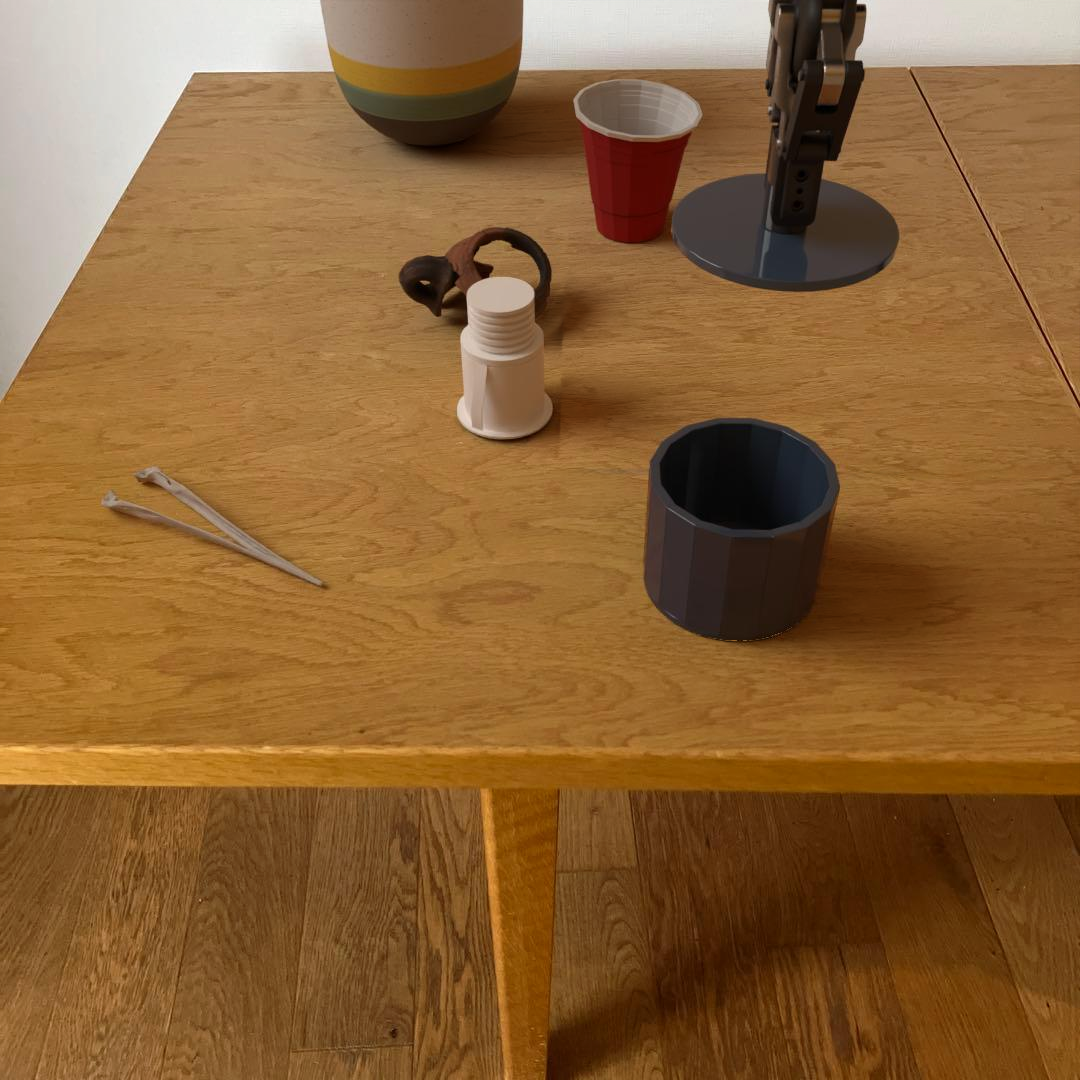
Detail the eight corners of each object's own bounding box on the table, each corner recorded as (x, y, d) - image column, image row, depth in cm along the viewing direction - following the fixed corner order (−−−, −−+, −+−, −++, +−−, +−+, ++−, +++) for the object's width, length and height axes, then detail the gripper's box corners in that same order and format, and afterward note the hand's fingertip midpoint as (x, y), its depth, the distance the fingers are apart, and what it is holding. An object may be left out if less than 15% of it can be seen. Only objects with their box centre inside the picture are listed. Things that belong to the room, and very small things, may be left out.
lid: (874, 193, 68) (895, 88, 64) (915, 304, 59) (941, 191, 55) (666, 191, 68) (672, 87, 64) (675, 301, 59) (684, 189, 55)
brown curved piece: (514, 276, 103) (549, 216, 96) (535, 371, 100) (573, 317, 93) (379, 269, 98) (405, 205, 91) (397, 369, 95) (426, 311, 88)
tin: (805, 521, 79) (824, 418, 73) (828, 643, 71) (852, 537, 65) (640, 519, 79) (646, 416, 73) (646, 640, 71) (653, 535, 65)
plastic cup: (660, 275, 102) (669, 140, 94) (549, 245, 106) (549, 113, 98) (711, 221, 109) (724, 91, 101) (606, 195, 113) (610, 67, 105)
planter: (493, 185, 114) (483, -54, 100) (306, 162, 119) (271, -71, 104) (549, 104, 128) (547, -116, 114) (379, 86, 132) (357, -129, 118)
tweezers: (98, 512, 80) (92, 490, 79) (150, 474, 83) (145, 452, 82) (299, 623, 74) (296, 601, 73) (347, 578, 77) (346, 556, 76)
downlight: (490, 372, 92) (484, 255, 85) (572, 397, 89) (573, 278, 83) (435, 429, 87) (425, 309, 80) (521, 457, 84) (517, 336, 77)
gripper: (968, -125, 45) (883, 279, 57) (901, -206, 56) (840, 151, 67) (769, -125, 46) (725, 277, 57) (738, -206, 56) (706, 149, 67)
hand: (788, 207), depth 62 cm, fingers closed on lid, 2 cm apart
